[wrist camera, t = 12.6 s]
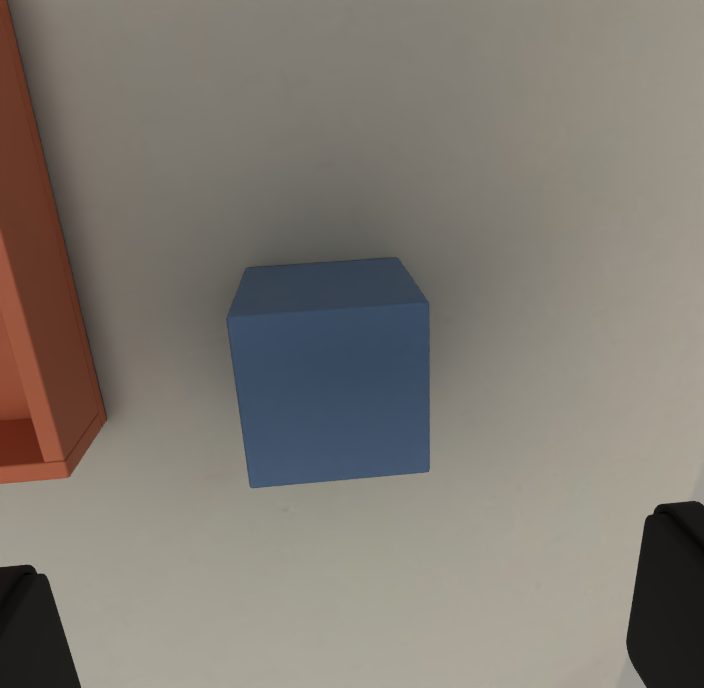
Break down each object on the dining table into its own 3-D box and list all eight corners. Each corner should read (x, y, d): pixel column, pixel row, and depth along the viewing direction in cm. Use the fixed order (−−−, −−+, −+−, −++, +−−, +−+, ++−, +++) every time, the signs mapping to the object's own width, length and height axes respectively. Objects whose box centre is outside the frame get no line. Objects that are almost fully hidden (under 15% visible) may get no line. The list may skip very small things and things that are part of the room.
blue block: (245, 267, 18) (225, 317, 14) (398, 256, 19) (429, 301, 14) (261, 405, 20) (250, 489, 16) (401, 393, 21) (430, 473, 16)
